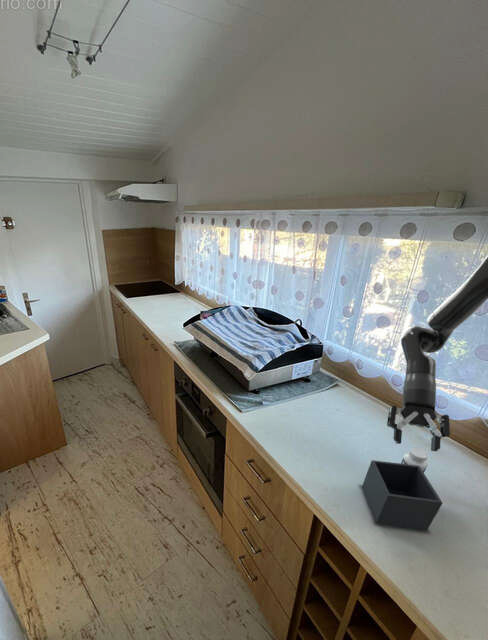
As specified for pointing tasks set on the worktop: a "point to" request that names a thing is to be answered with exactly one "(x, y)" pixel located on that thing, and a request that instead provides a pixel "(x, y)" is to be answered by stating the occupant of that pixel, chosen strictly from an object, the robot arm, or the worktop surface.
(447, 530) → the worktop surface
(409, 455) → the pill bottle
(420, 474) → the waste bin
